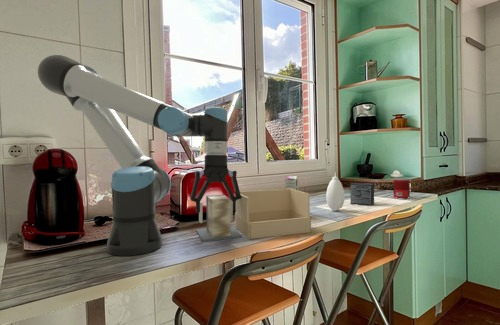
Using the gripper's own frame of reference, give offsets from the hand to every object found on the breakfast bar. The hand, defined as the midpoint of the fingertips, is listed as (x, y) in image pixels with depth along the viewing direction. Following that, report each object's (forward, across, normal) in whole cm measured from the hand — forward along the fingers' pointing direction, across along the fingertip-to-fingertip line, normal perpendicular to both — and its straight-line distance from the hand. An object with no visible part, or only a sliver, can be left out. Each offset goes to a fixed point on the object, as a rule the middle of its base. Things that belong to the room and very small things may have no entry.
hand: (215, 220), depth 101 cm
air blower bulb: (+4, +59, +18) cm, 62 cm away
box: (+4, +1, 0) cm, 4 cm away
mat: (+5, +1, 0) cm, 5 cm away
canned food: (+2, +113, +34) cm, 118 cm away
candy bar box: (+4, +37, +17) cm, 41 cm away
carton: (+4, +20, -1) cm, 20 cm away
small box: (+3, +81, +27) cm, 85 cm away
